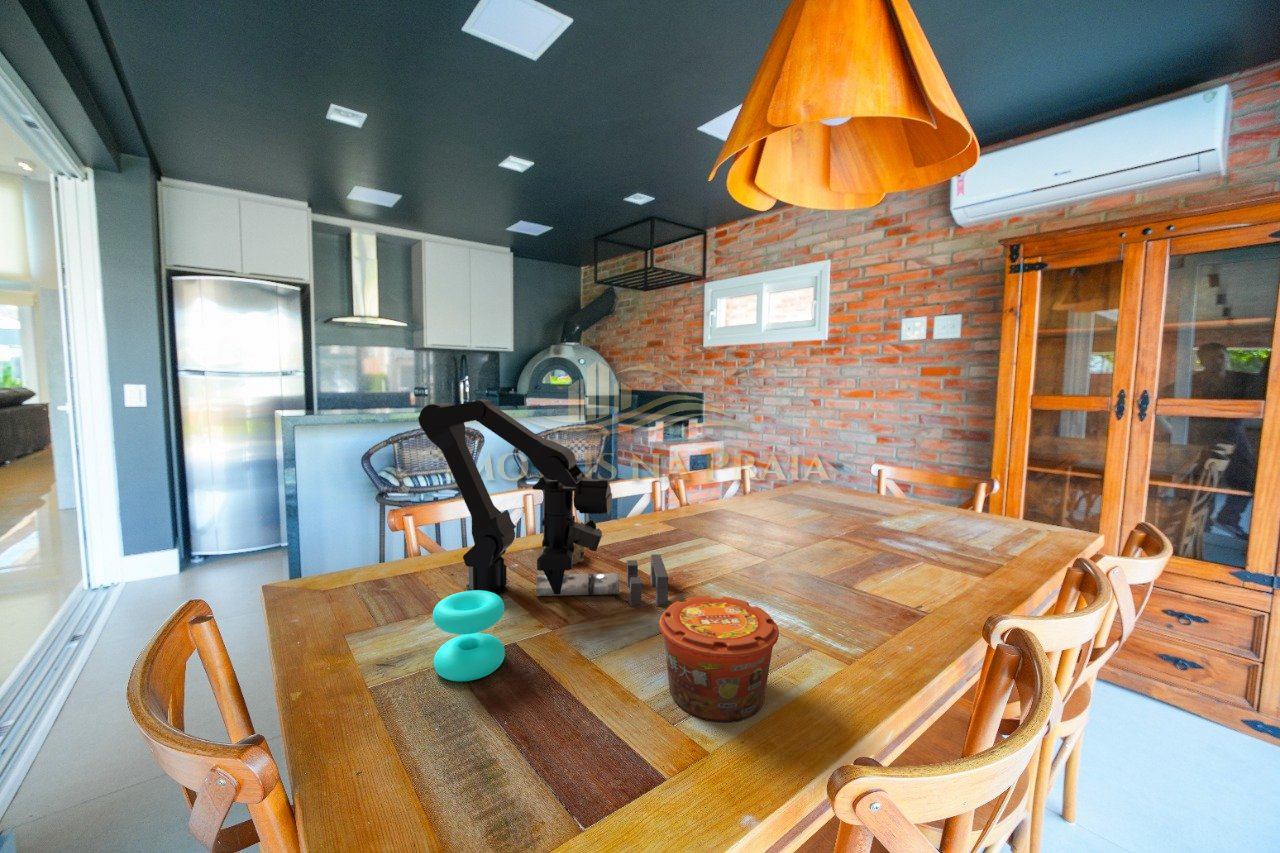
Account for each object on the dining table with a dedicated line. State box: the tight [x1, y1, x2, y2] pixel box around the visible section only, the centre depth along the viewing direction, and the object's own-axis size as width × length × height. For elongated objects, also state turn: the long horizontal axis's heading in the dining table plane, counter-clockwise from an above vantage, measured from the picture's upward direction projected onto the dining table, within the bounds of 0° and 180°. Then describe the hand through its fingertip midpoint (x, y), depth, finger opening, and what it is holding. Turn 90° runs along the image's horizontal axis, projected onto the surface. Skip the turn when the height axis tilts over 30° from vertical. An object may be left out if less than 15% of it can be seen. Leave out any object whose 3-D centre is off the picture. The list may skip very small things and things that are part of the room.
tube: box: [535, 572, 620, 597], centre depth 102 cm, size 16×4×4 cm, turn 95°
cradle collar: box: [626, 559, 643, 608], centre depth 103 cm, size 2×12×4 cm, turn 5°
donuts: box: [432, 590, 506, 682], centre depth 76 cm, size 10×10×10 cm
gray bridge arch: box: [649, 553, 669, 607], centre depth 104 cm, size 2×12×6 cm, turn 5°
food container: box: [658, 595, 780, 723], centre depth 70 cm, size 16×16×11 cm
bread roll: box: [540, 543, 585, 565], centre depth 122 cm, size 10×10×8 cm
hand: (558, 589), depth 102 cm, fingers closed on tube, 4 cm apart
